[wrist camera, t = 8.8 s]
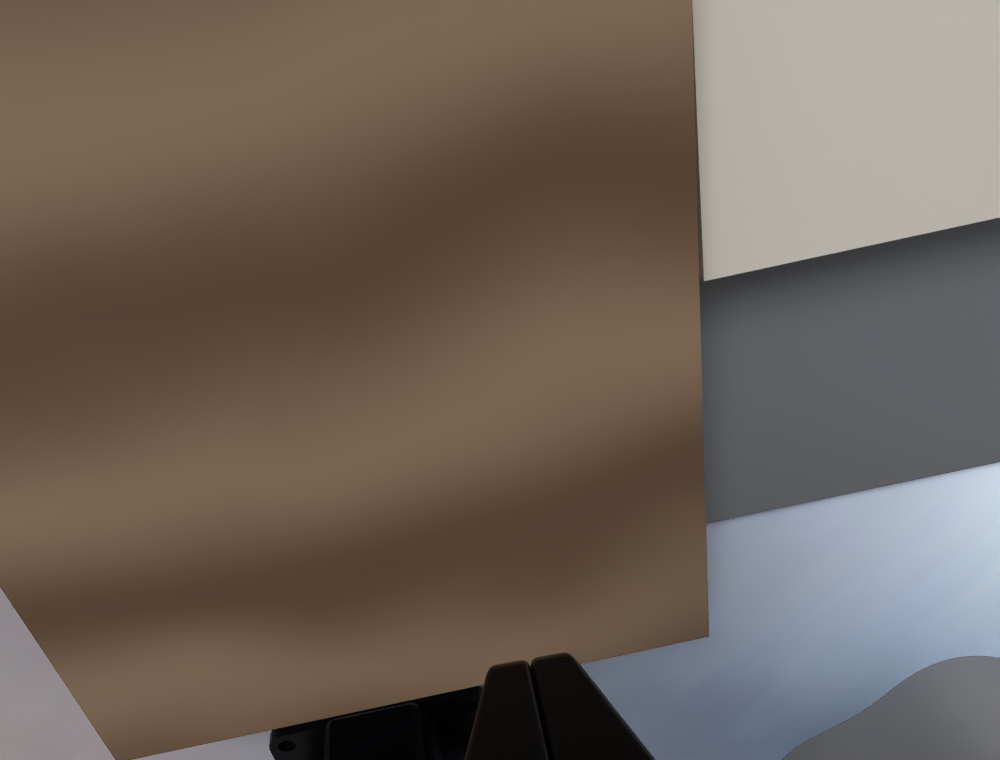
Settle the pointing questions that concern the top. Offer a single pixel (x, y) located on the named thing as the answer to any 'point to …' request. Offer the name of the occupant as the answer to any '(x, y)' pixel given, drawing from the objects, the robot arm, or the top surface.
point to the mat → (851, 370)
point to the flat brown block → (344, 349)
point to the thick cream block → (841, 125)
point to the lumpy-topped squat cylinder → (922, 718)
